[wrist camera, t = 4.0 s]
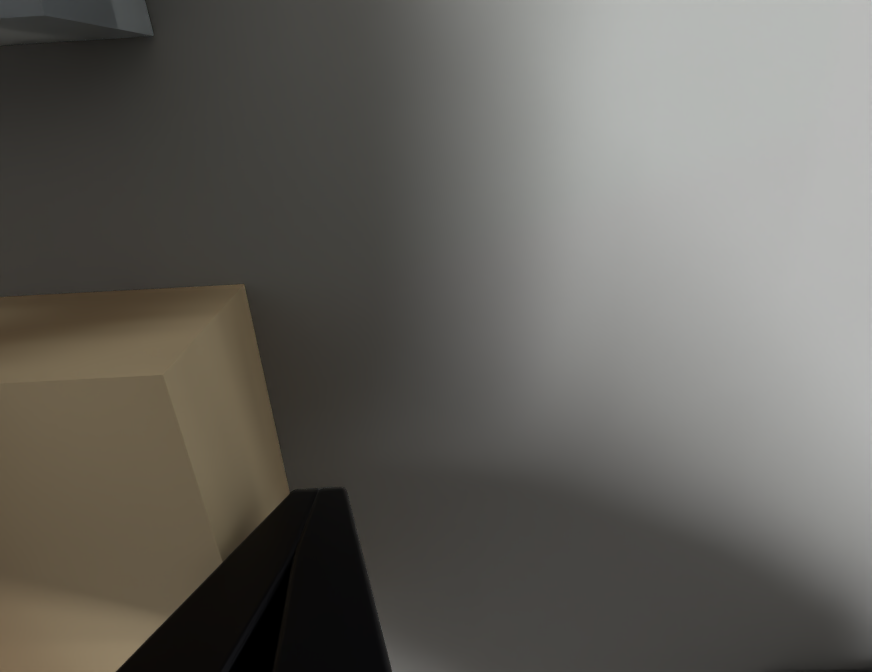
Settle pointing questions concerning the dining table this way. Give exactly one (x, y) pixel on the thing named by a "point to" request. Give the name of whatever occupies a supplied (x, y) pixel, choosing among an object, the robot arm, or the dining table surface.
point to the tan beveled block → (124, 464)
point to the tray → (71, 20)
